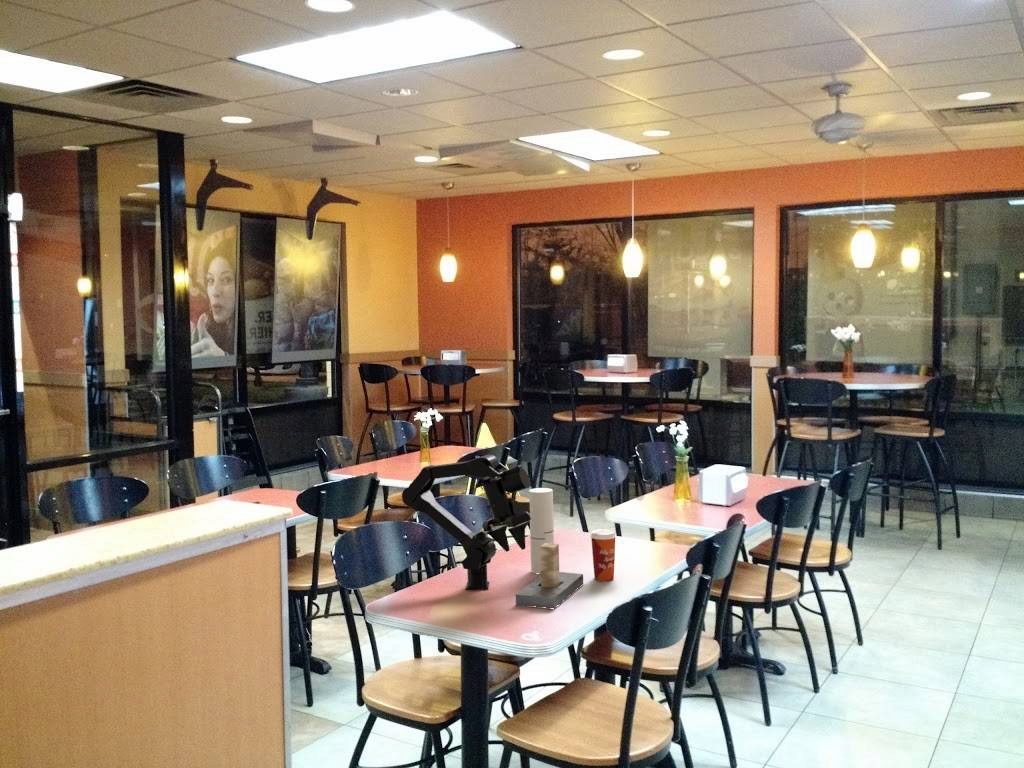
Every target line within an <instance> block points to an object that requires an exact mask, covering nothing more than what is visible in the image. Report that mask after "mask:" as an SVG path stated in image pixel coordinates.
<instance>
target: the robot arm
mask: <svg viewBox="0 0 1024 768" xmlns="http://www.w3.org/2000/svg"><path fill="white" fill-rule="evenodd" d="M462 476H466V477H467V476H468V477H472V478H473V477H474V478H478V480H477V482H476V485H475V486H474V487H475V488H476V489H479V488H481V487H482V488H483V490H484V491H483V492H484V494H485V497H486V500H487V503H488V504H487V505H486V508H487V509H490V511H491V514H492V518H490V519H487V520H484V521H483V522H482V530H481V531H479V532H477V533H476V532H473V531H471V529H469V528H468V527H467V526H466V525H465V524H463V523H462V522H461V521H460V520H458V519H457V518H456V517H455V516H454V515H453V514H451V513H450V512H449V511H448V510H446V509H445V508H444V507H443V506H441V504H439V503H438V502H437V501H436V499H435V497H434V494H433V492H432V491H431V489H432V488H433V486H434V483H435V480H436V479H445V478H453V477H462ZM486 477H488V478H486ZM498 477H499V478H498ZM530 487H531V480H530V476H529V474H528V472H527V471H526V470H525V469H524V468H523V466H522V465H521V464H519V465H517V466H514V467H513V468H510V469H509V468H508V467H506V466H505V465H503V464H502V463H501V462H499V459H498V458H497V457H496V456H495V455H494V454H485V455H483V456H479V457H477V458H473V459H471V460H467V461H461V462H460V461H459V462H453V463H452V462H451V463H443V464H436V465H434V464H430V465H427V466H425V467H423V468H422V469H421V470H420V472H419V473H418V475H417V476H416V477H415V478H414V479H413V481H412V482H411V483H410V484H409V485H408V487H406V488H404V489H403V491H402V493H401V498H402V500H401V501H402V503H403V504H404V505H405V506H406V507H408V508H410V509H412V510H413V511H416V512H418V513H421V514H424V515H426V516H427V517H428V518H430V519H431V520H432V521H433V522H434V523H435V524H437V525H438V526H439V527H440V528H442V529H443V531H445V532H446V533H447V534H449V535H450V536H451V537H452V538H453V539H454V540H456V541H457V542H458V543H459V544H460V545H461V547H462V549H463V551H464V553H465V555H466V557H465V558H464V559H463V560H462V561H461V565H462V568H463V570H467V582H466V585H465V590H467V591H469V590H471V591H479V590H480V591H481V590H489V588H490V581H488V565H487V564H490V563H491V560H492V558H494V557H495V556H496V553H497V547H496V544H495V542H496V543H497V544H498V545H499V546H500V547H501V548H502V549H503V550H504V551H505V552H506V553H507V552H509V551H511V550H510V545H509V541H508V540H509V539H508V536H507V530H508V532H509V533H510V535H511V536H512V538H513V539H514V542H515V543H516V544H517V545H518V547H519V548H520V549H521V550H522V551H523V550H525V549H526V528H527V526H528V525H530V520H531V517H530V502H529V501H518V500H513V498H512V497H509V496H508V494H514V493H517V492H520V491H523V490H527V489H529V488H530ZM507 492H508V493H507ZM485 532H486V533H485ZM488 535H489V536H488ZM493 540H494V541H495V542H494V541H493Z"/></svg>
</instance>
